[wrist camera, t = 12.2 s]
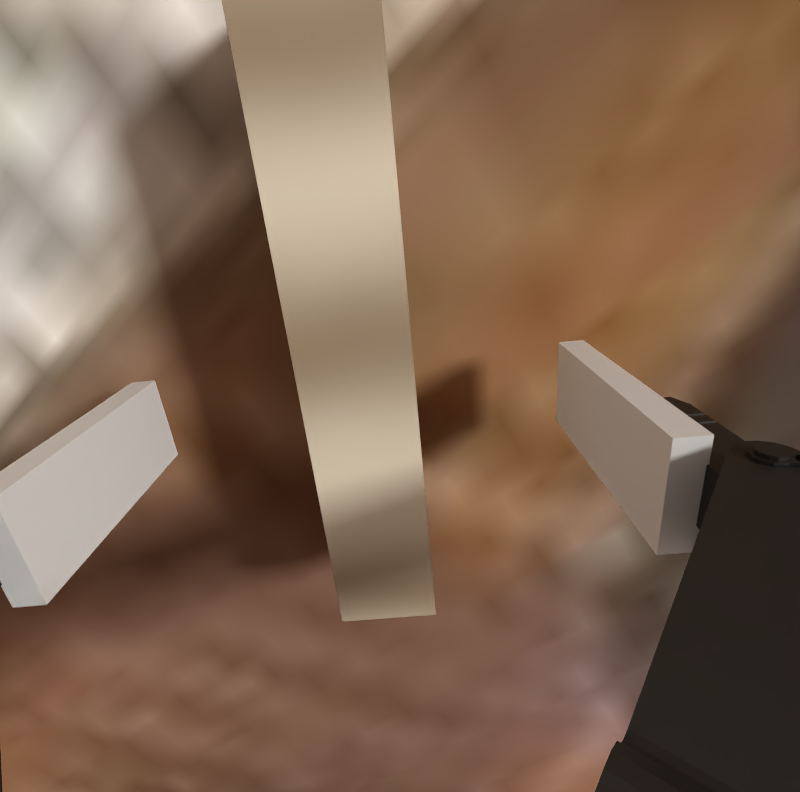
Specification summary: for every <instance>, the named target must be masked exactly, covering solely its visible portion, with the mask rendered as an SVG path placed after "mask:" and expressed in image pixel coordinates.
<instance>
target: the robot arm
mask: <svg viewBox="0 0 800 792" xmlns="http://www.w3.org/2000/svg"><path fill="white" fill-rule="evenodd" d="M556 421H557V422H558V424H559V425H560V426H561V428H562V429H563V430H564V432H565V433H566V434H567V436H568V437H569V438H570V440H571V441H572V442H573V444H574V445H575V446H576V448H577V449H578V450H579V452H580V453H581V454H582V456H583V457H584V458H585V460H586V461H587V462H588V464H589V465H590V466H591V468H592V469H593V470H594V472H595V473H596V474H597V476H598V477H599V479H600V480H601V481H602V483H603V484H604V485H605V487H606V488H607V489H608V491H609V492H610V493H611V495H612V496H613V497H614V499H615V500H616V501H617V503H618V504H619V505H620V507H621V508H622V509H623V511H624V512H625V513H626V515H627V516H628V517H629V519H630V520H631V521H632V523H633V524H634V525H635V527H636V528H637V529H638V531H639V532H640V533H641V535H642V536H643V537H644V539H645V540H646V541H647V543H648V544H649V545H650V547H651V548H652V549H653V551H654V552H655V554H656V555H663V554H676V553H688V552H691V555H690V558H689V560H688V563H687V566H686V569H685V572H684V574H683V577H682V580H681V583H680V585H679V588H678V591H677V594H676V597H675V599H674V602H673V605H672V608H671V610H670V613H669V616H668V619H667V622H666V624H665V627H664V630H663V633H662V635H661V638H660V641H659V644H658V646H657V649H656V652H655V655H654V658H653V660H652V663H651V666H650V669H649V671H648V674H647V677H646V680H645V683H644V685H643V688H642V691H641V694H640V696H639V699H638V702H637V705H636V708H635V710H634V713H633V716H632V719H631V721H630V724H629V727H628V730H627V732H626V735H625V737H624V739H623V741H622V742H621V743H620V742H618V741H617V742H616V743H615V745H614V747H613V748H612V750H611V752H610V755H609V757H608V760H607V762H606V764H605V767H604V769H603V772H602V775H601V777H600V780H599V783H598V785H597V788H596V790H595V792H800V451H799V450H796V449H794V448H792V447H789V446H785V445H781V444H777V443H772V442H764V441H744V440H742V439H741V438H739V437H738V436H737V435H735V434H734V433H732V432H731V431H729V430H728V429H726V428H725V427H723V426H722V425H720V424H719V423H715V421H714V420H713V419H711V418H710V417H708V416H707V415H704V413H702V412H701V411H700V410H698V409H697V408H695V407H694V406H692V405H691V404H688V403H686V402H683V401H680V400H677V399H675V398H672V397H664V398H663V397H661V396H660V395H658V394H657V393H656V392H654V391H653V390H651V389H650V388H649V387H647V386H646V385H645V384H643V383H642V382H640V381H639V380H638V379H636V378H635V377H633V376H632V375H631V374H629V373H628V372H626V371H625V370H624V369H622V368H621V367H620V366H618V365H617V364H615V363H614V362H613V361H611V360H610V359H608V358H607V357H606V356H604V355H603V354H601V353H600V352H599V351H597V350H596V349H595V348H593V347H592V346H590V345H589V344H588V343H586V342H585V341H583V340H579V341H568V342H559V349H558V379H557V409H556ZM177 455H178V453H177V450H176V447H175V444H174V440H173V437H172V434H171V431H170V428H169V424H168V421H167V418H166V415H165V412H164V408H163V405H162V402H161V399H160V396H159V392H158V389H157V386H156V383H155V381H144V382H134V383H131V384H129V385H128V386H126V387H125V388H123V389H122V390H120V391H119V392H117V393H116V394H114V395H113V396H111V397H110V398H108V399H107V400H105V401H104V402H102V403H101V404H99V405H98V406H97V407H95V408H94V409H92V410H91V411H89V412H88V413H86V414H85V415H83V416H82V417H80V418H79V419H77V420H76V421H74V422H73V423H71V424H70V425H68V426H67V427H65V428H64V429H62V430H61V431H59V432H58V433H56V434H55V435H54V436H52V437H51V438H49V439H48V440H46V441H45V442H43V443H42V444H40V445H39V446H37V447H36V448H34V449H33V450H31V451H30V452H28V453H27V454H25V455H24V456H22V457H21V458H19V459H18V460H16V461H15V462H14V463H12V464H11V465H9V466H8V467H6V468H5V469H3V470H2V471H0V586H1V587H2V589H3V591H4V593H5V595H6V596H7V598H8V600H9V602H10V604H11V606H12V607H13V608H14V607H26V606H38V605H47V604H48V603H49V602H50V601H51V599H52V598H53V597H54V596H55V595H56V594H57V593H58V591H59V590H60V589H61V588H62V587H63V586H64V585H65V583H66V582H67V581H68V580H69V579H70V578H71V577H72V575H73V574H74V573H75V572H76V571H77V570H78V568H79V567H80V566H81V565H82V564H83V563H84V562H85V560H86V559H87V558H88V557H89V556H90V555H91V554H92V552H93V551H94V550H95V549H96V548H97V547H98V546H99V544H100V543H101V542H102V541H103V540H104V539H105V537H106V536H107V535H108V534H109V533H110V532H111V531H112V529H113V528H114V527H115V526H116V525H117V524H118V523H119V521H120V520H121V519H122V518H123V517H124V516H125V515H126V513H127V512H128V511H129V510H130V509H131V508H132V506H133V505H134V504H135V503H136V502H137V501H138V500H139V498H140V497H141V496H142V495H143V494H144V493H145V492H146V490H147V489H148V488H149V487H150V486H151V485H152V484H153V482H154V481H155V480H156V479H157V478H158V477H159V476H160V474H161V473H162V472H163V471H164V470H165V469H166V467H167V466H168V465H169V464H170V463H171V462H172V461H173V459H174V458H175V457H176V456H177ZM698 528H699V529H700V530H699V533H698V535H697V530H698ZM696 536H697V538H696ZM0 792H2V775H1V752H0Z"/></svg>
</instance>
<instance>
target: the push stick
mask: <svg viewBox="0 0 800 792" xmlns="http://www.w3.org/2000/svg"><path fill="white" fill-rule="evenodd" d="M222 5H223V10H224V15H225V20H226V25H227V30H228V35H229V41H230V46H231V51H232V56H233V61H234V66H235V71H236V77H237V82H238V87H239V92H240V97H241V102H242V107H243V113H244V118H245V123H246V128H247V133H248V138H249V143H250V149H251V154H252V159H253V164H254V169H255V174H256V179H257V185H258V190H259V195H260V200H261V205H262V210H263V215H264V221H265V226H266V231H267V236H268V241H269V246H270V251H271V257H272V262H273V267H274V272H275V277H276V282H277V288H278V293H279V298H280V303H281V308H282V313H283V318H284V324H285V329H286V334H287V339H288V344H289V349H290V354H291V360H292V365H293V370H294V375H295V380H296V385H297V390H298V396H299V401H300V406H301V411H302V416H303V421H304V426H305V432H306V437H307V442H308V447H309V452H310V457H311V462H312V468H313V473H314V478H315V483H316V488H317V493H318V498H319V504H320V509H321V514H322V519H323V524H324V529H325V534H326V540H327V545H328V550H329V555H330V560H331V565H332V570H333V576H334V581H335V586H336V591H337V596H338V601H339V606H340V612H341V617H342V621H355V620H369V619H382V618H396V617H409V616H422V615H436V611H435V599H434V588H433V577H432V566H431V554H430V543H429V532H428V521H427V509H426V498H425V487H424V476H423V464H422V453H421V442H420V430H419V419H418V408H417V397H416V385H415V374H414V363H413V352H412V340H411V329H410V318H409V307H408V295H407V284H406V273H405V261H404V250H403V239H402V228H401V216H400V205H399V194H398V183H397V171H396V160H395V149H394V138H393V126H392V115H391V104H390V93H389V81H388V70H387V59H386V47H385V36H384V25H383V14H382V2H381V0H222Z"/></svg>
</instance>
